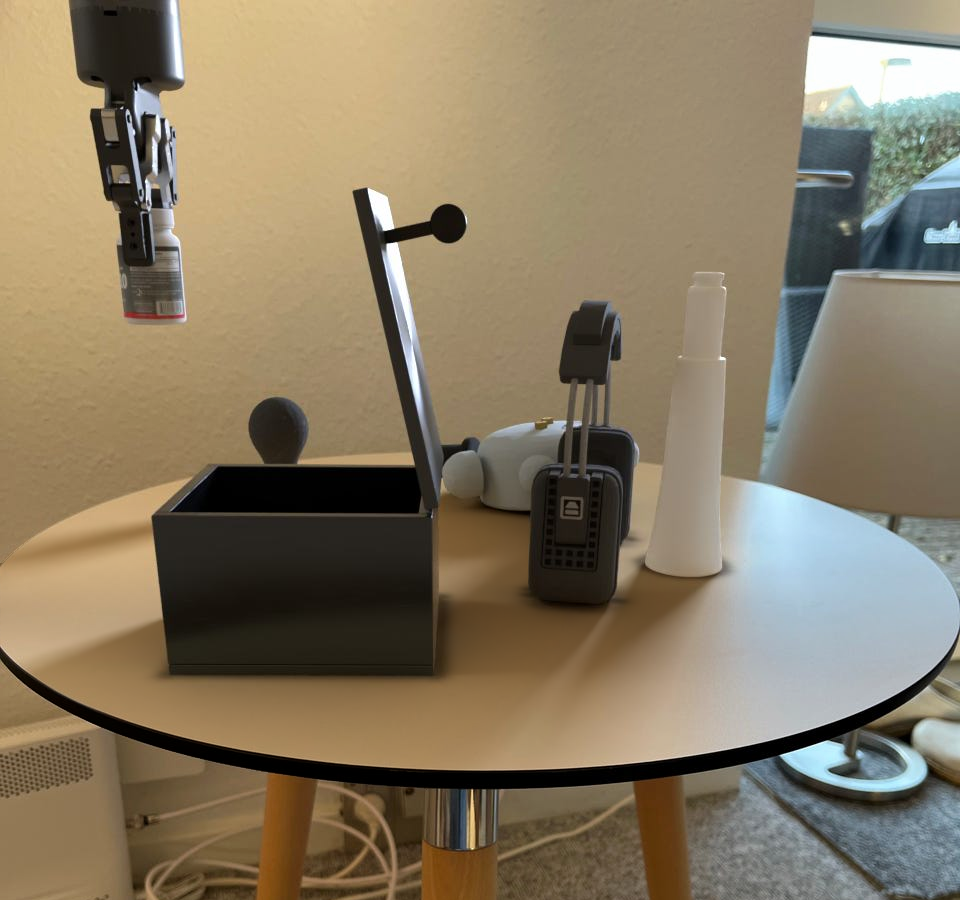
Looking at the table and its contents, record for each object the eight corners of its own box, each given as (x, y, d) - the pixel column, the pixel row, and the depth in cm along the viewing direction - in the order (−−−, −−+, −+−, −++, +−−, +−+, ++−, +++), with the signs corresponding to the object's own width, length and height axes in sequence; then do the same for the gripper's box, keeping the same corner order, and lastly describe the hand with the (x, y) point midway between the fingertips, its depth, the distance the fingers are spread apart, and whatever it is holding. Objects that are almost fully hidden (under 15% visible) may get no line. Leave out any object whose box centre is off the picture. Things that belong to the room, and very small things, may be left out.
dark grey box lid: (351, 190, 50) (456, 167, 50) (374, 198, 63) (458, 179, 62) (425, 510, 56) (518, 491, 56) (432, 459, 69) (508, 443, 69)
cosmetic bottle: (718, 582, 77) (749, 274, 69) (639, 573, 79) (660, 273, 71) (725, 559, 83) (754, 271, 74) (650, 552, 84) (671, 270, 76)
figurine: (653, 486, 104) (473, 488, 111) (651, 402, 101) (465, 410, 108) (611, 529, 89) (405, 528, 96) (606, 431, 86) (394, 438, 93)
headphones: (612, 617, 70) (631, 313, 62) (521, 610, 71) (529, 310, 64) (631, 531, 90) (647, 293, 83) (560, 526, 91) (569, 291, 84)
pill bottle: (131, 320, 82) (119, 208, 79) (190, 321, 83) (181, 209, 80) (119, 325, 78) (106, 207, 75) (182, 325, 79) (172, 208, 76)
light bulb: (253, 510, 96) (245, 402, 92) (253, 495, 101) (246, 393, 97) (314, 507, 97) (308, 400, 93) (310, 493, 102) (305, 391, 98)
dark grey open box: (169, 677, 60) (150, 515, 56) (220, 599, 73) (208, 463, 69) (433, 677, 60) (432, 517, 56) (439, 600, 73) (438, 464, 69)
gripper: (104, 29, 79) (128, 262, 85) (34, -13, 66) (69, 267, 72) (201, 31, 79) (218, 264, 86) (150, -10, 66) (175, 269, 72)
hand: (149, 264), depth 79 cm, fingers closed on pill bottle, 4 cm apart
